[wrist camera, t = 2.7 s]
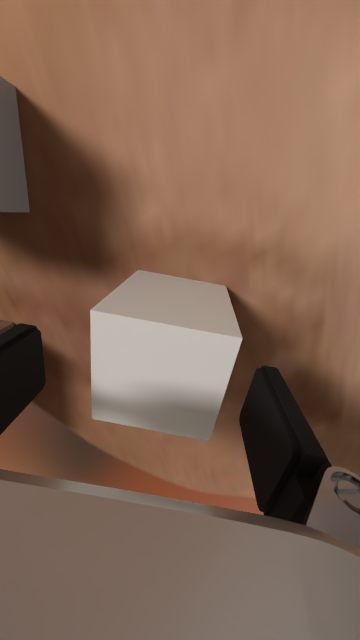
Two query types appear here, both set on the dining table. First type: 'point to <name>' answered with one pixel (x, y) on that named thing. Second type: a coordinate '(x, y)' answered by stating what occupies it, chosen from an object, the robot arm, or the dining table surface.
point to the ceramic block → (163, 354)
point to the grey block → (11, 153)
